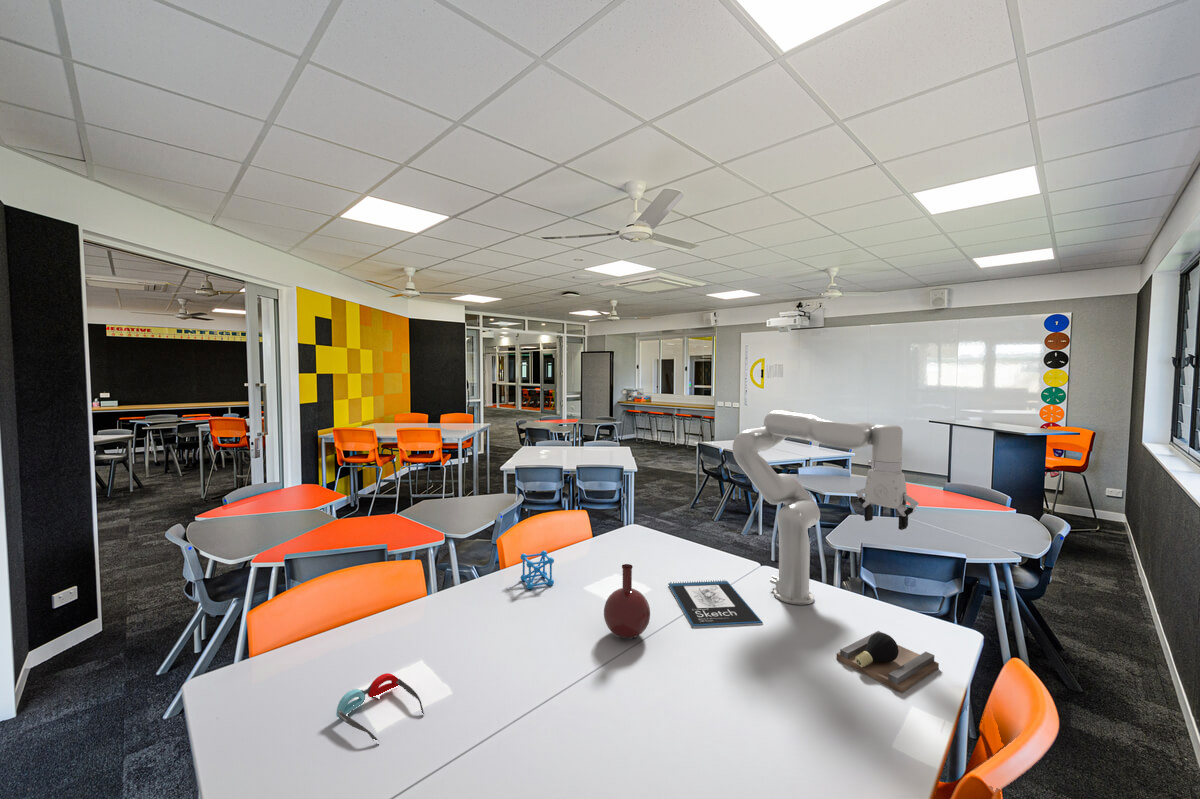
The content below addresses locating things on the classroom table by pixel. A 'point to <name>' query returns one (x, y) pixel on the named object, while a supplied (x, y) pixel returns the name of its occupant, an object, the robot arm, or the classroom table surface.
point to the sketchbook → (713, 604)
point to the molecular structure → (537, 569)
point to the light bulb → (878, 650)
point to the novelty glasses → (372, 691)
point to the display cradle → (891, 665)
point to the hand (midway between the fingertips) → (885, 524)
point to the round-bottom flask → (627, 609)
